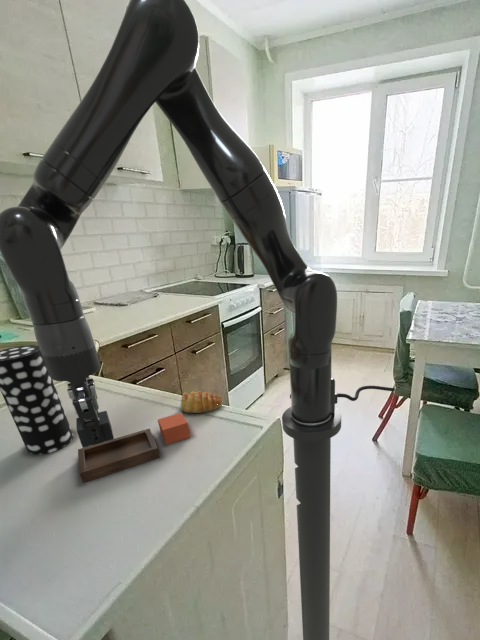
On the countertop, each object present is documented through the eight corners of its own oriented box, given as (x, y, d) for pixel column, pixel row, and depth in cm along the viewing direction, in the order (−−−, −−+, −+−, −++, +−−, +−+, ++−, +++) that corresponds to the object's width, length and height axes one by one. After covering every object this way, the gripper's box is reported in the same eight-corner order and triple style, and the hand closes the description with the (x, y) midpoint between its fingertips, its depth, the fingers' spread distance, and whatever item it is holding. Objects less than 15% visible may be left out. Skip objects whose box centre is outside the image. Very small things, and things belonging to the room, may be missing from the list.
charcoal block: (111, 426, 67) (106, 410, 66) (113, 438, 63) (108, 422, 62) (81, 434, 65) (76, 418, 63) (82, 448, 61) (76, 431, 59)
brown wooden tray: (151, 437, 74) (149, 428, 73) (160, 457, 67) (157, 448, 66) (81, 458, 68) (77, 449, 67) (82, 483, 61) (78, 473, 61)
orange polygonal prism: (184, 426, 77) (181, 412, 75) (190, 437, 73) (187, 422, 71) (160, 433, 75) (157, 419, 73) (166, 444, 71) (162, 430, 69)
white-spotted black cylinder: (70, 427, 79) (38, 342, 70) (76, 443, 73) (42, 352, 64) (26, 441, 74) (-14, 352, 66) (28, 460, 68) (-15, 364, 60)
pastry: (223, 399, 88) (221, 385, 86) (221, 412, 82) (219, 398, 80) (185, 402, 87) (182, 388, 85) (180, 416, 81) (177, 401, 79)
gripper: (96, 354, 52) (124, 448, 60) (91, 331, 64) (115, 412, 71) (37, 365, 49) (74, 463, 57) (43, 339, 61) (73, 423, 68)
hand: (97, 434), depth 64 cm, fingers closed on charcoal block, 5 cm apart
